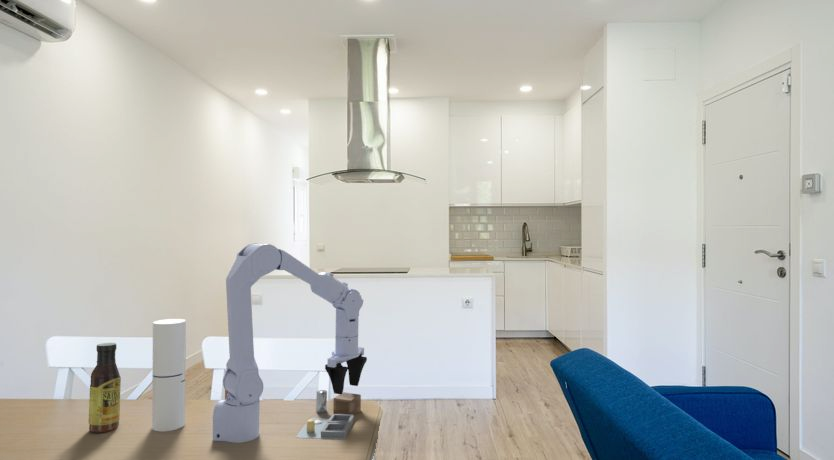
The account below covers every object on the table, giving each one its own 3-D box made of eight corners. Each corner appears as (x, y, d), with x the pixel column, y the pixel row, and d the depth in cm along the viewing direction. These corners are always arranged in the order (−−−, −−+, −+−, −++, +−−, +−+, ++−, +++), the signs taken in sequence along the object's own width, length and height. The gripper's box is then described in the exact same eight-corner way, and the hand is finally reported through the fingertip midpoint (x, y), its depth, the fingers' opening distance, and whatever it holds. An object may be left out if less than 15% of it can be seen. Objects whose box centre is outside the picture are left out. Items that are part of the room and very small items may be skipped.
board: (295, 442, 115) (295, 426, 116) (310, 422, 127) (310, 407, 127) (344, 443, 115) (344, 427, 115) (354, 423, 127) (354, 409, 127)
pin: (314, 416, 131) (315, 392, 131) (317, 413, 134) (318, 389, 134) (324, 417, 131) (325, 393, 131) (327, 413, 134) (328, 390, 133)
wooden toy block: (350, 420, 129) (350, 400, 129) (333, 417, 130) (333, 397, 130) (360, 414, 133) (360, 394, 133) (343, 411, 135) (343, 392, 135)
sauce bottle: (105, 435, 119) (105, 348, 119) (81, 432, 120) (82, 346, 120) (126, 424, 125) (127, 342, 125) (104, 422, 127) (104, 340, 127)
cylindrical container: (145, 428, 123) (146, 322, 123) (172, 418, 130) (172, 317, 130) (165, 433, 120) (166, 325, 120) (191, 423, 126) (192, 320, 126)
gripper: (348, 329, 140) (347, 380, 140) (317, 339, 127) (316, 395, 127) (371, 331, 137) (370, 383, 137) (342, 342, 124) (341, 399, 124)
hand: (346, 389), depth 132 cm, fingers open, 7 cm apart
